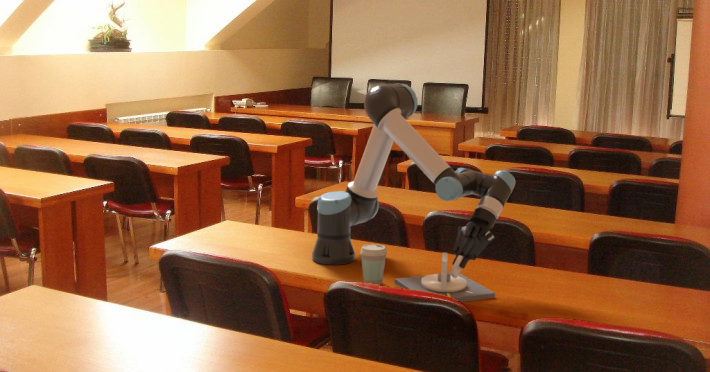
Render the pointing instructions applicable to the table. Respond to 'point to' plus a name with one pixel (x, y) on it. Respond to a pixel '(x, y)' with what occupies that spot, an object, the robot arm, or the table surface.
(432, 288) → the dial
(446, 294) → the dial plate
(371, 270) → the coffee cup
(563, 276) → the table surface
